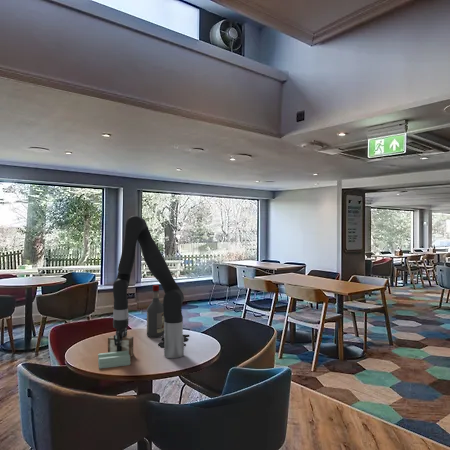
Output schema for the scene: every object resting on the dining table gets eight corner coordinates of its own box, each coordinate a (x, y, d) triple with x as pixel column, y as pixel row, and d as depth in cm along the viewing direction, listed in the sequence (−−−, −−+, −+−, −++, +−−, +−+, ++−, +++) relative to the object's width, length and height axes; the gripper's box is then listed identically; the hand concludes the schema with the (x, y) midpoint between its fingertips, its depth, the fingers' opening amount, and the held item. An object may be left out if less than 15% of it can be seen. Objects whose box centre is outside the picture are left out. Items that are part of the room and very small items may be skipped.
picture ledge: (127, 358, 188) (128, 349, 188) (130, 364, 179) (130, 356, 179) (98, 361, 183) (98, 353, 183) (99, 368, 174) (99, 359, 174)
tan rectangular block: (133, 354, 194) (133, 336, 194) (131, 356, 190) (131, 338, 190) (110, 353, 195) (110, 336, 195) (107, 355, 191) (107, 338, 191)
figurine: (166, 335, 230) (151, 350, 200) (166, 333, 230) (151, 349, 200) (192, 335, 228) (181, 352, 199) (192, 334, 228) (181, 350, 199)
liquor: (145, 337, 224) (145, 286, 225) (151, 333, 233) (151, 284, 234) (159, 338, 222) (160, 286, 223) (165, 334, 231) (165, 284, 232)
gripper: (123, 321, 185) (123, 356, 185) (132, 314, 200) (132, 347, 199) (108, 320, 186) (108, 356, 186) (118, 314, 200) (118, 347, 200)
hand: (120, 351), depth 193 cm, fingers closed on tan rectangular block, 3 cm apart
